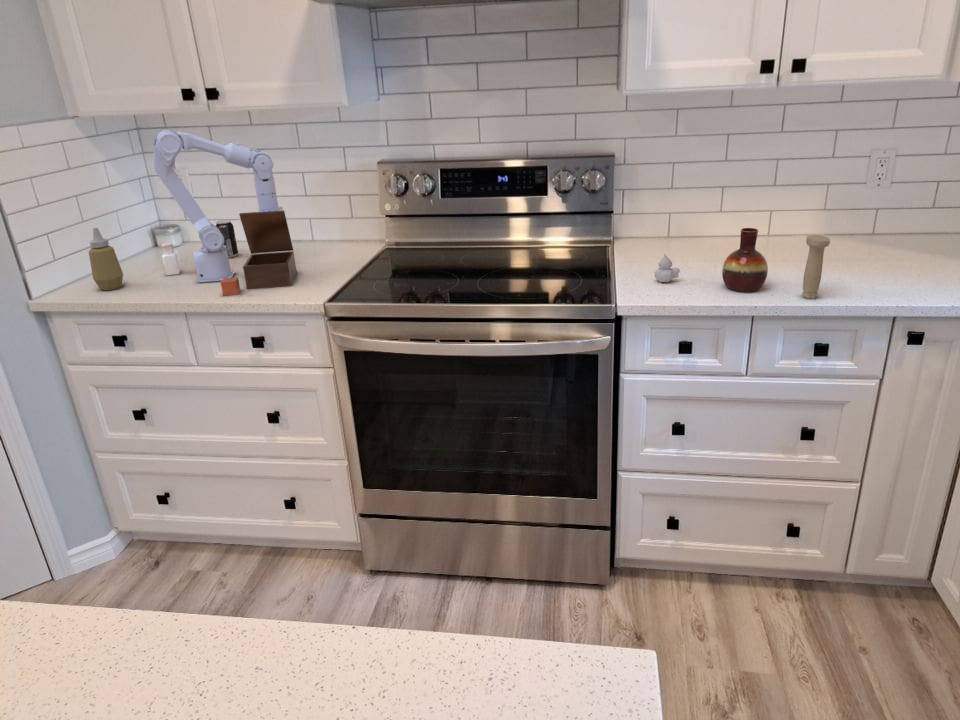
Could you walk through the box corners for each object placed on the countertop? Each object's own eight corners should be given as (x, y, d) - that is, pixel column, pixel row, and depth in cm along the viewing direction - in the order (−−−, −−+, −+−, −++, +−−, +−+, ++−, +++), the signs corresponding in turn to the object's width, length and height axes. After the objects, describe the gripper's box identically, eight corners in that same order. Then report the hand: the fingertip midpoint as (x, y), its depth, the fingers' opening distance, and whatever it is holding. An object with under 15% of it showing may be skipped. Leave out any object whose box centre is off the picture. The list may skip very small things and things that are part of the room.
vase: (713, 289, 181) (719, 231, 175) (731, 279, 189) (737, 222, 183) (755, 297, 175) (763, 237, 168) (771, 286, 182) (779, 228, 176)
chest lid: (284, 211, 199) (284, 210, 199) (239, 214, 198) (239, 213, 198) (293, 250, 210) (293, 249, 210) (250, 253, 208) (251, 252, 209)
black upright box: (230, 253, 238) (223, 218, 233) (242, 254, 236) (236, 219, 231) (217, 257, 233) (210, 222, 229) (229, 259, 231) (222, 223, 226)
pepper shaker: (180, 271, 220) (174, 241, 216) (179, 274, 216) (173, 244, 213) (167, 272, 219) (160, 243, 215) (166, 276, 215) (159, 246, 211)
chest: (291, 285, 200) (287, 263, 198) (247, 289, 199) (242, 266, 196) (296, 272, 213) (293, 251, 210) (255, 275, 211) (251, 254, 209)
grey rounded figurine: (653, 278, 192) (655, 250, 189) (677, 278, 191) (680, 250, 188) (654, 284, 187) (656, 255, 184) (679, 284, 186) (682, 255, 183)
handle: (815, 293, 176) (824, 234, 170) (823, 301, 170) (833, 241, 164) (795, 293, 176) (803, 235, 170) (802, 301, 170) (812, 241, 164)
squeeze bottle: (118, 282, 211) (103, 223, 204) (131, 286, 207) (115, 226, 199) (91, 289, 206) (74, 229, 198) (103, 293, 201) (86, 232, 194)
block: (223, 295, 194) (220, 282, 193) (226, 291, 198) (223, 278, 196) (237, 294, 195) (235, 281, 193) (240, 290, 198) (238, 277, 197)
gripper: (276, 196, 202) (283, 242, 208) (282, 188, 215) (289, 231, 221) (251, 198, 201) (259, 244, 207) (259, 189, 215) (267, 233, 220)
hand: (273, 237), depth 214 cm, fingers closed
